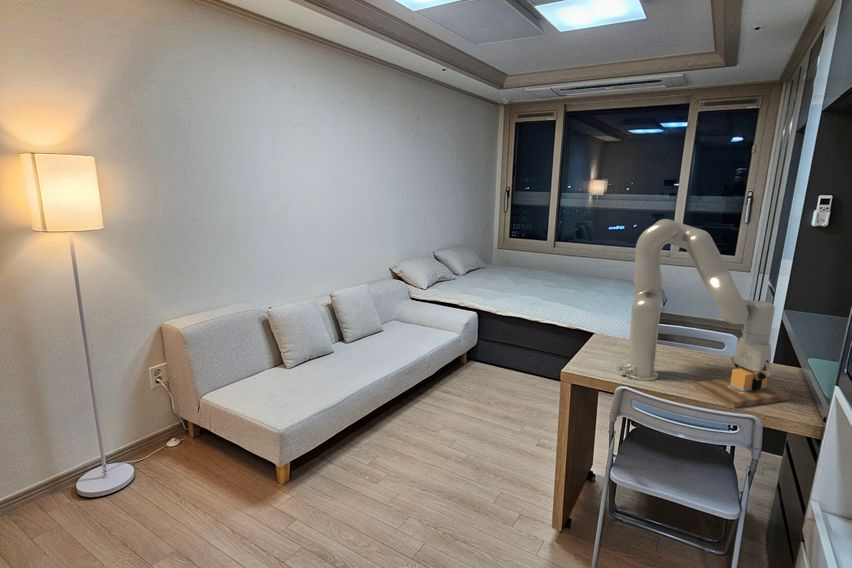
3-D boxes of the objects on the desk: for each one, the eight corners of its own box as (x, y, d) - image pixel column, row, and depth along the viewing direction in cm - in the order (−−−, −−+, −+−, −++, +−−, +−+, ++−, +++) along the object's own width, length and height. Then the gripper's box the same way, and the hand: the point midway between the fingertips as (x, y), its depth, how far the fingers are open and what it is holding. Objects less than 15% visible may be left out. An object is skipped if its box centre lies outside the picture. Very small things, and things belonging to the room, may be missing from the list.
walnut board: (733, 408, 146) (734, 402, 145) (694, 387, 161) (695, 382, 161) (790, 399, 151) (791, 394, 151) (747, 380, 167) (748, 375, 166)
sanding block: (743, 391, 153) (745, 375, 152) (730, 385, 158) (732, 369, 156) (766, 387, 155) (768, 371, 154) (752, 381, 160) (755, 366, 159)
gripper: (725, 330, 160) (718, 377, 164) (771, 346, 144) (762, 398, 147) (742, 328, 161) (735, 375, 165) (789, 344, 145) (780, 395, 149)
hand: (748, 385), depth 156 cm, fingers closed on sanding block, 5 cm apart
